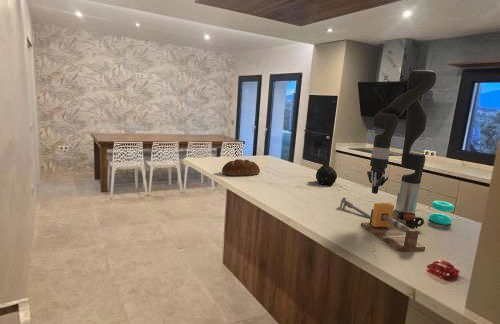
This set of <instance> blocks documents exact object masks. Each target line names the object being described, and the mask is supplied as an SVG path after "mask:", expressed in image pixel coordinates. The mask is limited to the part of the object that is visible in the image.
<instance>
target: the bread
mask: <svg viewBox="0 0 500 324" xmlns="http://www.w3.org/2000/svg"><path fill="white" fill-rule="evenodd" d="M221 173H222V174H223V175H224V176H229V175H230V176H231V177H250V176H251V177H252V176H256V175H259V174H260V173H261V169H260V167H259V164H257V163H256V162H254V161H251V160H249V159H244V160H243V159H241V158H240V159H239V158H237V159H235V160H230V161H228V162H226V163H225V164H224V165H223V167H222V168H221Z"/></svg>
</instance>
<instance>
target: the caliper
mask: <svg viewBox="0 0 500 324" xmlns="http://www.w3.org/2000/svg"><path fill="white" fill-rule="evenodd" d="M339 204H340V206H339V207H340V208H343V209H345V208H346V207H347V208H349V209H353V210H354V211H356V212H358V213H359V214H361V215H362V216H364V217H366V218H367V219H370V217H371V214H369V213H367V212H366V211H364V210H362V209H360V208H359V207H357V206H356V205H354V204H353V203H352V202H350V201H349V200H347V197H345V196H343V197H342V198H341V200H340V203H339Z"/></svg>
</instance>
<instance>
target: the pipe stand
mask: <svg viewBox="0 0 500 324" xmlns="http://www.w3.org/2000/svg"><path fill="white" fill-rule="evenodd" d="M373 210H374V208H372V209H371V212H370V215H371V217H370V218H369V222H361V224H360V226H361V227H362V228H363V229H365V230H367V231H368V232H369V233H370V234H373V235H374V236H376V237H377V238H378V239H380V240H381V241H383V242H384V243H385V244H388V245H389V246H390V247H392V248H393V249H394V250H395V251H398V252H399V253H401V252H414V251H415V252H418V251H420V252H421V251H425V250H426V246H425V245H423V244H421V243H420V242H418V236H419V232H420V231H419V230H418V229H417V228H415V229H411V228H409V227H407V226H405V225H403V224H404V223H401V222H400V221H399V220H396V219H394V218H393V217H392V218H391V217H389V216H387V215H385V214H382V216H381V218H382V219H383V220H385V221H387V222H388V223H390V224H391V226H386V227H375V226H373V225H372V224H371V223H372V216H373ZM394 227H395V228H394ZM396 228H397V229H396ZM398 229H399V230H401V231H402V232H401V231H399V230H398ZM403 232H404V233H403Z"/></svg>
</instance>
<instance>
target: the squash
mask: <svg viewBox="0 0 500 324" xmlns="http://www.w3.org/2000/svg"><path fill="white" fill-rule="evenodd" d="M315 179H316V180H317V184H321V185H327V186H329V185H330V186H331V185H334V184H335V183H336V180H337V179H338V174H337V171H336V170H335V169H334V168H333V167H331V166H330V165H328V164H326V163H325V164H322V166H320V167H319V168H318V169H317V171H316V173H315Z"/></svg>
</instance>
